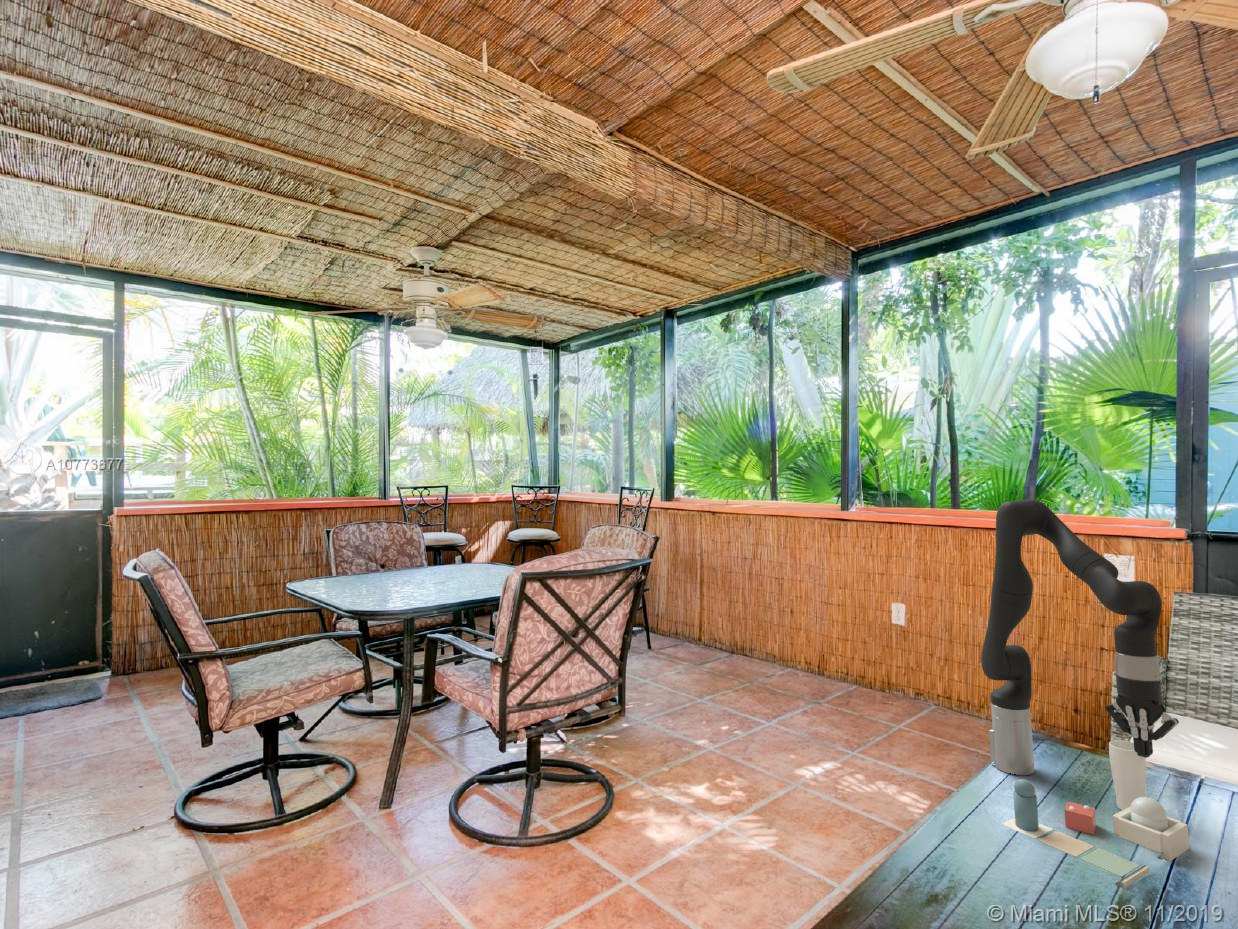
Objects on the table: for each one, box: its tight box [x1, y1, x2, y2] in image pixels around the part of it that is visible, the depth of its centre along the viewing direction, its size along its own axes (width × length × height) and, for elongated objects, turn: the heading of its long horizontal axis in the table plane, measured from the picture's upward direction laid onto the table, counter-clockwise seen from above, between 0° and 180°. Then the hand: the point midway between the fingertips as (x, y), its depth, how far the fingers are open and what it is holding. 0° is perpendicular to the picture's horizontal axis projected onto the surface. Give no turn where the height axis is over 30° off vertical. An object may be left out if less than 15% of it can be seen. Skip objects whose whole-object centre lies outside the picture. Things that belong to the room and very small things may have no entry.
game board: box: [1001, 817, 1150, 889], centre depth 134 cm, size 25×10×1 cm, turn 28°
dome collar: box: [1112, 806, 1190, 862], centre depth 135 cm, size 10×10×5 cm
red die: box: [1064, 801, 1097, 836], centre depth 140 cm, size 5×5×6 cm
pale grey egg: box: [1131, 796, 1168, 832], centre depth 135 cm, size 6×6×7 cm
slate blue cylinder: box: [1013, 778, 1039, 832], centre depth 141 cm, size 4×4×10 cm
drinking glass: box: [1108, 739, 1147, 811], centre depth 149 cm, size 7×7×15 cm
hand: (1144, 756), depth 136 cm, fingers closed
